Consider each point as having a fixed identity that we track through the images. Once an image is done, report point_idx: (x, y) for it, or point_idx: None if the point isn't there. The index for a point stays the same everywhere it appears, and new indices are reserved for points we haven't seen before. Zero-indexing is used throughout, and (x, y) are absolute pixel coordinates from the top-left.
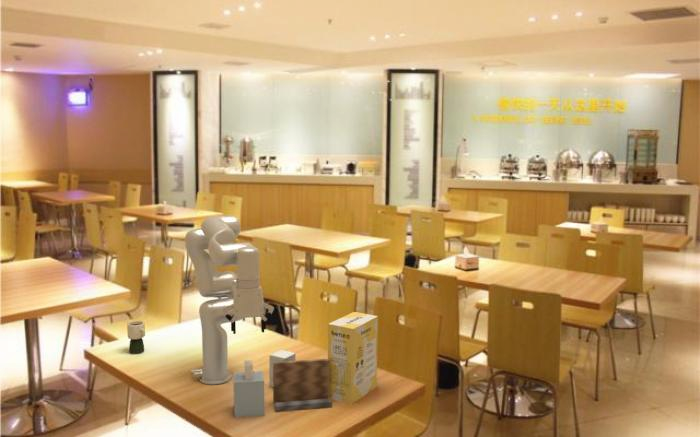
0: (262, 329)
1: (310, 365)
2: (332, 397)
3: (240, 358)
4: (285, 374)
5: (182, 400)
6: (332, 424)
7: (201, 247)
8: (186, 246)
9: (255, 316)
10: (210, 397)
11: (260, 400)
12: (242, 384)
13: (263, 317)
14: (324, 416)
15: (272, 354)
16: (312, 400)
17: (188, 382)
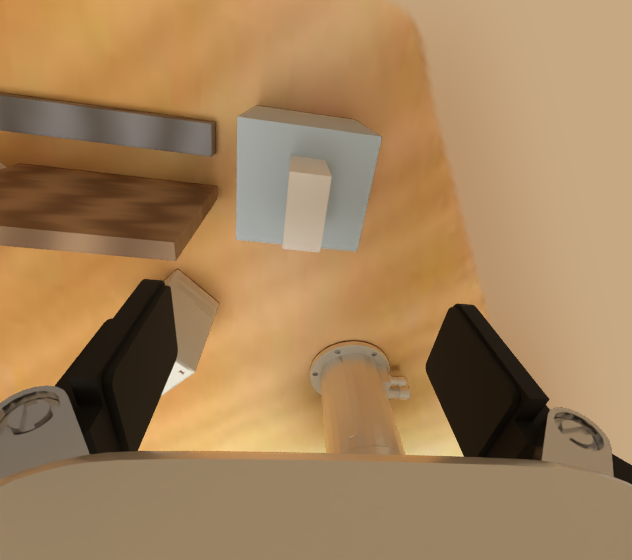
0: (152, 300)
1: None
2: (2, 167)
3: (273, 444)
4: (136, 215)
5: (459, 278)
6: None
7: None
8: None
9: (190, 459)
10: (387, 277)
11: (265, 111)
12: (343, 130)
13: (34, 450)
14: (20, 11)
15: (183, 373)
16: (67, 132)
17: (413, 364)
